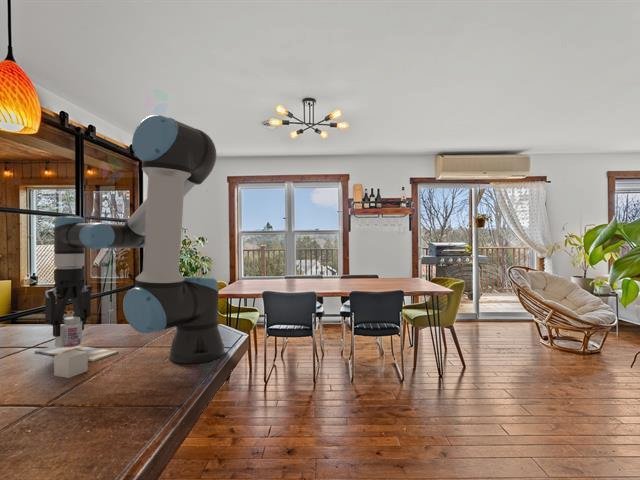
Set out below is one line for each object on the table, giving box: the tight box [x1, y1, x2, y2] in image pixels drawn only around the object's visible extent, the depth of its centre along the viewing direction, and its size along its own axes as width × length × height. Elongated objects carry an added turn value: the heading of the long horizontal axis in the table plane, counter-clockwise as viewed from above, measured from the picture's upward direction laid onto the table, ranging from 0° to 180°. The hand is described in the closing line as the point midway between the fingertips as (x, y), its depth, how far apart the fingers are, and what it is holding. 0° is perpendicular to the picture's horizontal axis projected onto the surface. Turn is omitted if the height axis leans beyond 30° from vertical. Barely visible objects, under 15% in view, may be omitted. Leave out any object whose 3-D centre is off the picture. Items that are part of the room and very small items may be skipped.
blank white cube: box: [53, 350, 89, 379], centre depth 90 cm, size 5×5×5 cm
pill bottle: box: [63, 316, 82, 348], centre depth 107 cm, size 5×5×8 cm
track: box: [34, 345, 119, 362], centre depth 107 cm, size 24×8×1 cm, turn 71°
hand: (68, 344), depth 108 cm, fingers closed on pill bottle, 5 cm apart
